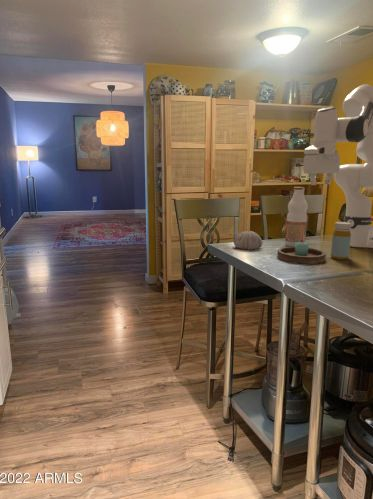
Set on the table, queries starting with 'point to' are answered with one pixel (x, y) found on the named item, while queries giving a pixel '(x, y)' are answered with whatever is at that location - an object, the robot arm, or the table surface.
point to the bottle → (341, 241)
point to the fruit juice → (296, 218)
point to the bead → (301, 249)
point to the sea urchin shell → (248, 240)
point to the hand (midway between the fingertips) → (320, 184)
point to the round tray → (290, 256)
